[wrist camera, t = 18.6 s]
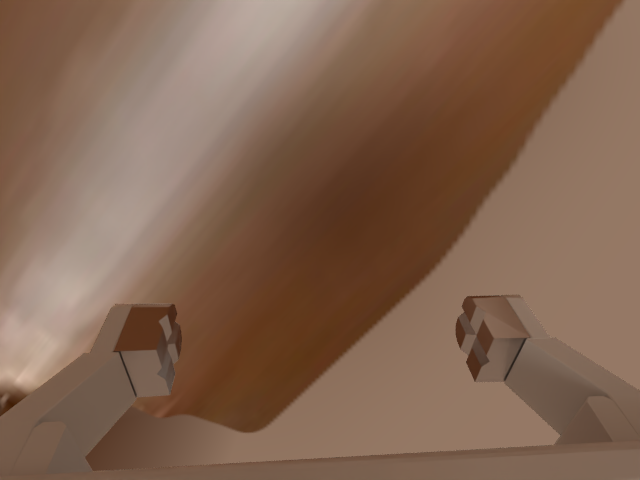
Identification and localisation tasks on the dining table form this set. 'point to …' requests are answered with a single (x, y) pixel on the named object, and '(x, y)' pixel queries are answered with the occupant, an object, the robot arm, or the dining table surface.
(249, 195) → the dining table surface
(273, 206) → the dining table surface
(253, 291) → the dining table surface
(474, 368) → the robot arm
